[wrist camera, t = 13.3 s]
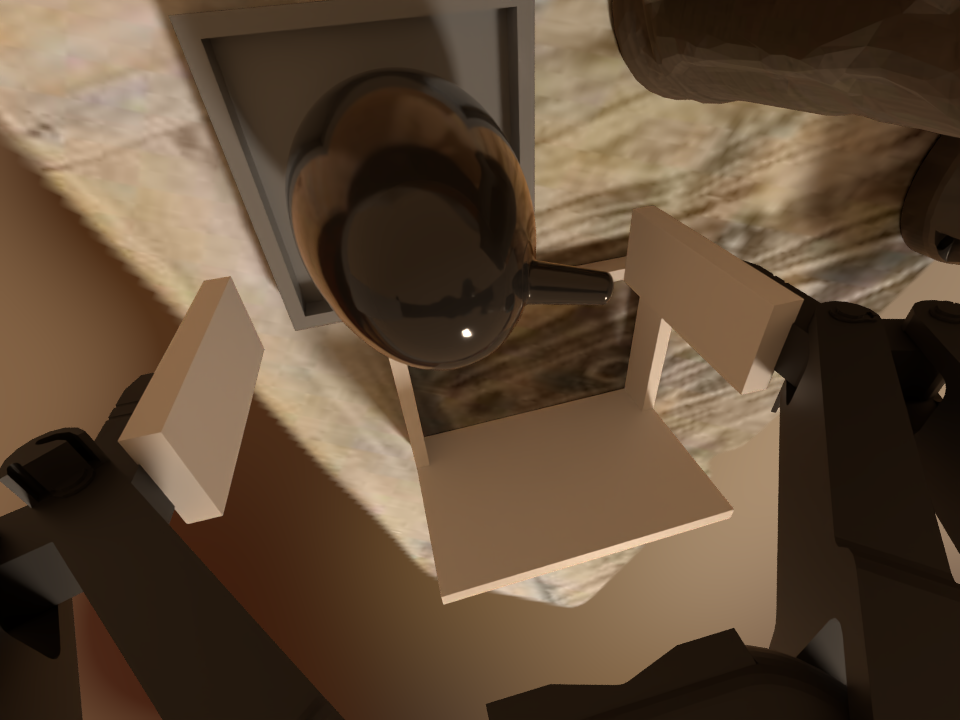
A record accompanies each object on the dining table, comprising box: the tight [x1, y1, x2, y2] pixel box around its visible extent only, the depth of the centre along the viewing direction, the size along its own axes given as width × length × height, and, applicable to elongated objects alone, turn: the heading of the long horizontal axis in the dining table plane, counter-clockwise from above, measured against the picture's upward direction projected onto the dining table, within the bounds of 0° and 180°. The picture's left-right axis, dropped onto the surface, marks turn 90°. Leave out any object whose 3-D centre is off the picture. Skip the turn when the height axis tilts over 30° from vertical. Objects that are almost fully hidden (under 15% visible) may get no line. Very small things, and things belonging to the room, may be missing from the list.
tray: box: [169, 0, 535, 331], centre depth 24 cm, size 15×15×2 cm
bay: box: [389, 256, 734, 604], centre depth 30 cm, size 20×14×13 cm
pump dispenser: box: [285, 67, 614, 370], centre depth 18 cm, size 10×10×15 cm
